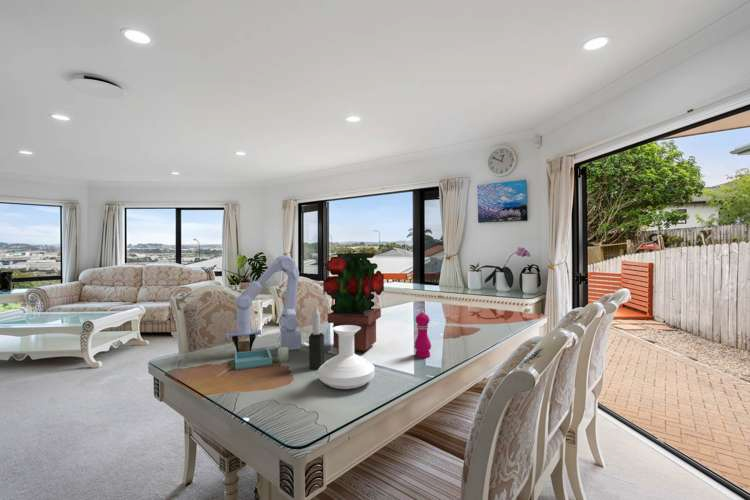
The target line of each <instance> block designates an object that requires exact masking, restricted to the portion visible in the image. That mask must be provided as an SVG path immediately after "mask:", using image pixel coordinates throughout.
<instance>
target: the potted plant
mask: <svg viewBox="0 0 750 500" xmlns="http://www.w3.org/2000/svg"><path fill="white" fill-rule="evenodd" d="M374 256H375V253H374V252H365V253H364V252H362V253H361V252H360V253H359V252H358V253H355V252H353V253H351V252H350V253H349V252H345V253H331V257H330V260H327V261H326V264H325V269H326V271H327V272H329V273H330V275H332V276H328V277H326V280H325V278H324V277H323V278H322V281H323V284H322V285H323V289H322V290H323V294H325V293H326V295H327V296H330V298H331V299H332V300H334V304H332V305H331V306H330V310H331V311H332V312H329V313H327V323H328V324H333V327H335V326H341V325H354V326H359V327H361V329H360V330H359V331H358V332H356V333H355V334H354V353H355V354H357V353H358V354H365V352H366V351H367V350H369V349H370V348H371V346H373V345H374V344H375V343H376V342H377V320H378V319H380V318H381V317H382V311H381V310H382V308H373V307H374V306H375V302H374V301H372V300H373V299H375V294H376V295H377V296H381V294H382V292H383V291H384V290H385V282H384V280H385V274H383V273H382V272H381V270H377V269H378V267H379V266H378V264H377V263H376V262H375V263H373V262H371V260H370V259H372V258H374ZM375 270H376V272H375ZM374 293H375V294H374ZM333 327H332V328H333ZM332 331H333V330H332ZM332 333H333V349H339V335H338V334H337V333H336V332H334V331H333V332H332Z"/></svg>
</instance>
